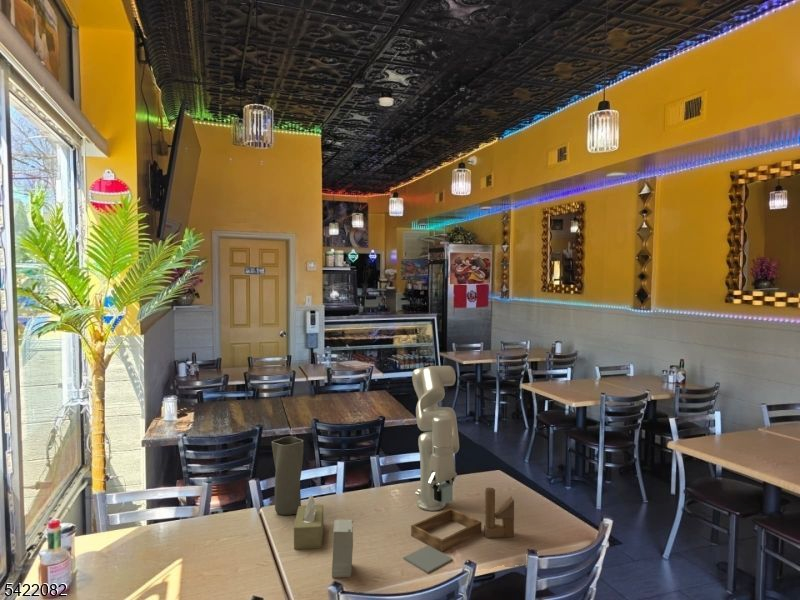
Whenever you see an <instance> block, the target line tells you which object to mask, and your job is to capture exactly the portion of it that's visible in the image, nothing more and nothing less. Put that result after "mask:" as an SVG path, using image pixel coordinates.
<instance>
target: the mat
mask: <svg viewBox="0 0 800 600" xmlns="http://www.w3.org/2000/svg"><path fill="white" fill-rule="evenodd" d="M402 558H403V560H404V561H406V562H408V563H409V564H412V565H413V566H415V567H416V568H417V569H419V570H421V571H423V572H424V573H426V574H430V573H431V572H434V571H435V570H437V569H439V568H441V567H442V566H445V565H446V564H448V563H450V562H452V561H453V558H452V557H450V556H449V555H448V554H445V553H444V552H440V551H438V550H436V549H435V548H433V547H431V546H429V545H426V546H424V547H421V548H420V549H417V550H415V551H413V552H412V553H409V554H407V555H404V556H403V557H402Z"/></svg>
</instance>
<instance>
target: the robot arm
mask: <svg viewBox="0 0 800 600" xmlns="http://www.w3.org/2000/svg"><path fill="white" fill-rule="evenodd" d="M411 376H412V377H411V380H412V385H413V388H414V391H415V393H416V397H417V399H418V401H417V403H416V407H415V417H416V424H417V428H418V429H419V430H420V431H422V432H423V433H421V434H420V435H419V436H418V441H417V443H418V444H417V445H418V450H419V460H420V461H419V462H420V488H417V490H416V491H415V495H417V496H418V499H417V502H416V504H417V507H418V508H420V509H422V510H425V511H432V512H434V511H439V510H443V509H445V507H446V506H447V503H446V504H444V505H443V504H441V503H438V502H436V501H439V502H441V491H440V488H441V483H442V482H446V483H449V484H452V487H453V486H454V482H455V479H456V477H457V475H458V473H457V472H456V462H455V461H456V460H455V454H457V453H459V449H460V437H459V430H458V423H457V422H458V421H457V415H456V412H455V410H454V409H453V408H452V407H448V406H439V403H440V402H441V401H443V399H444V398H445V395H446V392H445V391H446V390H445V387H451V386H454V385H455V383H456V379H457V377H456V371H455V369H454V368H453V366H451V365H429V366H427V367H426V366H425V367H424V366H423V367H418V368H415V369H414V370H413V372H412V375H411ZM437 483H438V486H437V485H436V484H437ZM433 489H434V500H436V501H434V500H433Z"/></svg>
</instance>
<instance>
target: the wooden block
mask: <svg viewBox="0 0 800 600" xmlns="http://www.w3.org/2000/svg"><path fill="white" fill-rule="evenodd" d="M484 490H485V497H484V498H485V499H484V500H485V501H484V503H485V511H484V512H485V514H484V517H485V518H484V519H485V520H484V523H485V524H483V534H484V536H485V538H486V539H493V538H513V537H514V536H515V500H514V498H513V497H512V496H510V497H509V498H508V499H507V500H505V502H504V503H503V504H502V505H501V506H500V507H499V508H498V509H497V510H496V488H494V487H486V488H485V489H484ZM496 520H502V522H501V523H502V524H499V523H496Z"/></svg>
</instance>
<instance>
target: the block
mask: <svg viewBox="0 0 800 600" xmlns="http://www.w3.org/2000/svg"><path fill="white" fill-rule="evenodd" d="M436 485H437V486H438V483H437V484H436ZM440 491H441V502H439V501H436V500H434V489H433V500H434V501H436V502H438V503H441V504H443V505H444V504H446V505H447V504H449V503H451V502H453V497H454V496H453V491H454V490H453V486H452V484H449V483H446V482H445V481H444V482H442V483H441V488H440Z"/></svg>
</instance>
